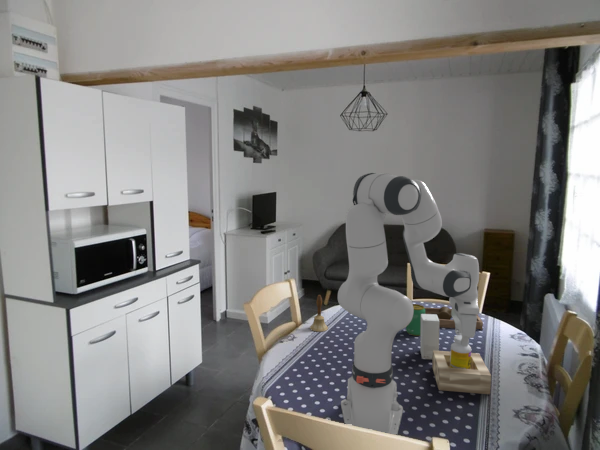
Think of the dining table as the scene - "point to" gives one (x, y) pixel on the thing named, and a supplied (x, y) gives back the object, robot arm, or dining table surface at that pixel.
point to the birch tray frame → (461, 374)
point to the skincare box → (429, 335)
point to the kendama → (443, 313)
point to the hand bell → (319, 318)
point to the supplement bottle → (460, 354)
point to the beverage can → (416, 321)
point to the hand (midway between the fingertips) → (461, 339)
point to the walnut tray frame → (450, 323)
